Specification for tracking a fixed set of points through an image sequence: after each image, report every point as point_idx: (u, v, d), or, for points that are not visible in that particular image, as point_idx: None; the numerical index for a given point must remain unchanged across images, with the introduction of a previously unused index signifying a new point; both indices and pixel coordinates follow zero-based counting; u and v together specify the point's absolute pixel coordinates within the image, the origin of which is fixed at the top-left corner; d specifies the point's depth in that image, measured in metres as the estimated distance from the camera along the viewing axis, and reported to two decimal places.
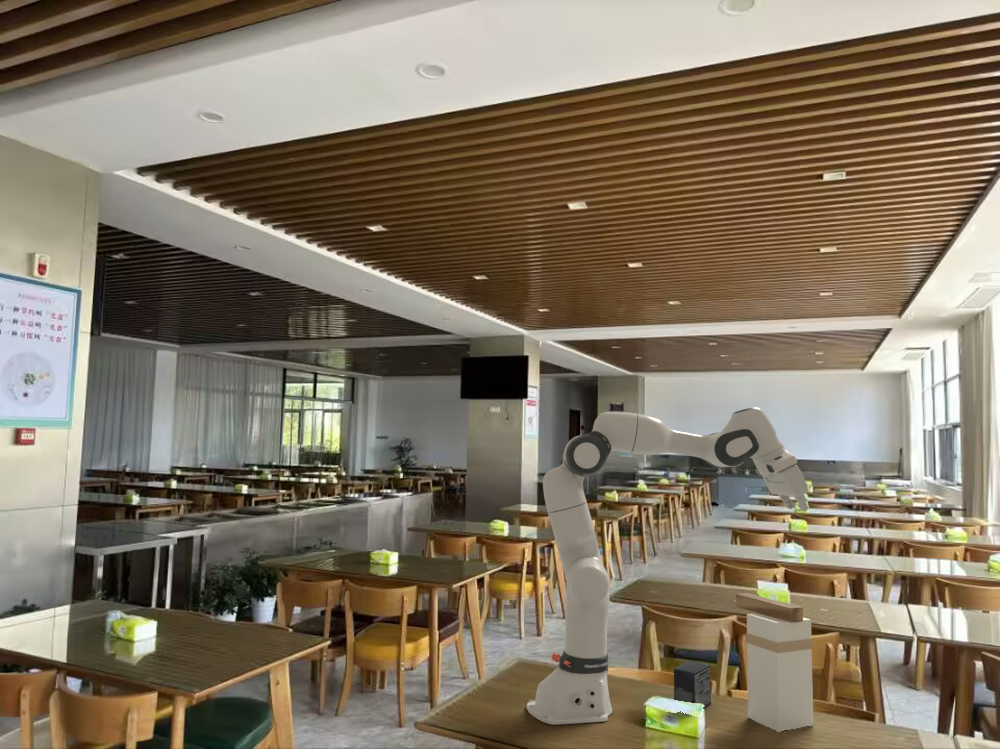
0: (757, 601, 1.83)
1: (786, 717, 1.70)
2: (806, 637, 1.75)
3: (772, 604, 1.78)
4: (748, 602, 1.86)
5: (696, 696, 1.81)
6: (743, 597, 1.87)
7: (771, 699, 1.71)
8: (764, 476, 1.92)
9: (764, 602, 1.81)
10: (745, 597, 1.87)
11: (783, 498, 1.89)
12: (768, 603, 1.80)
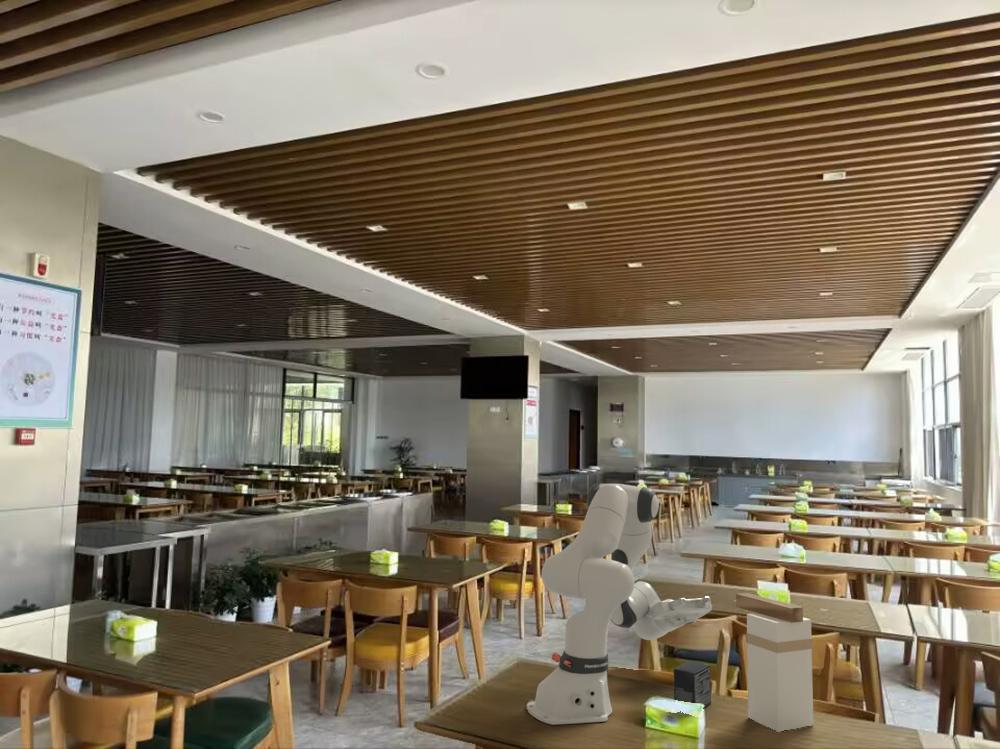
0: (757, 601, 1.83)
1: (786, 717, 1.70)
2: (806, 637, 1.75)
3: (772, 604, 1.78)
4: (748, 602, 1.86)
5: (696, 696, 1.81)
6: (743, 597, 1.87)
7: (771, 699, 1.71)
8: None
9: (764, 602, 1.81)
10: (745, 597, 1.87)
11: None
12: (768, 603, 1.80)
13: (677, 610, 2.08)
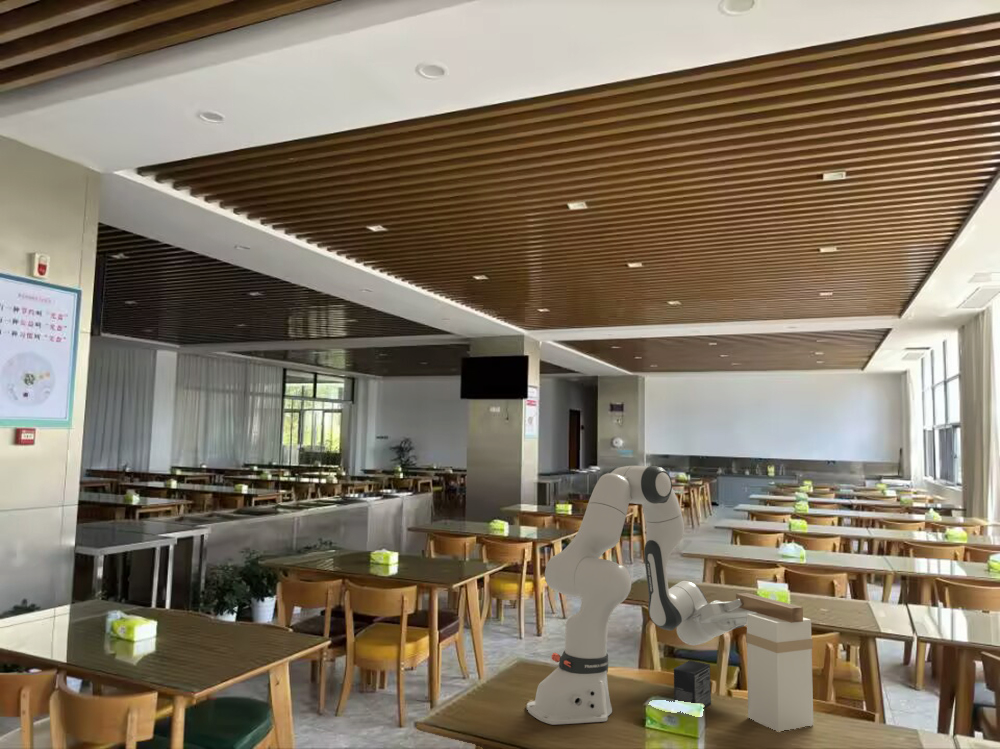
0: (757, 601, 1.83)
1: (786, 717, 1.70)
2: (806, 637, 1.75)
3: (772, 604, 1.78)
4: (748, 602, 1.86)
5: (696, 696, 1.81)
6: (743, 597, 1.87)
7: (771, 699, 1.71)
8: None
9: (764, 602, 1.81)
10: (745, 597, 1.87)
11: None
12: (768, 603, 1.80)
13: (728, 613, 1.89)
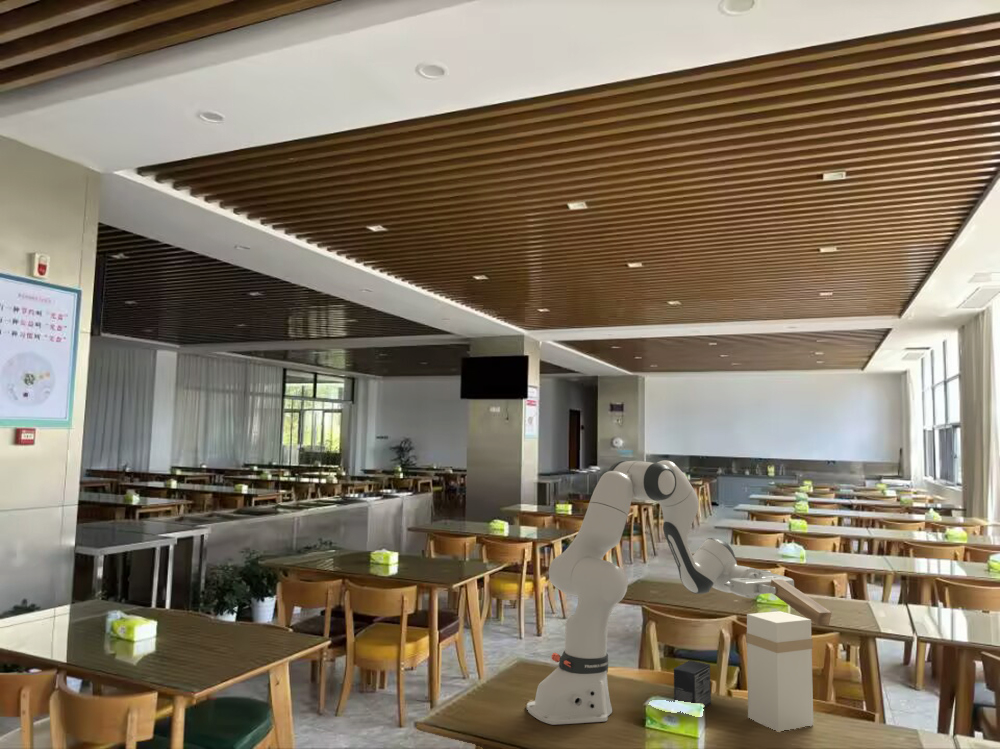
0: (789, 594, 1.89)
1: (786, 717, 1.70)
2: (806, 637, 1.75)
3: (802, 602, 1.85)
4: (781, 592, 1.93)
5: (696, 696, 1.81)
6: (777, 585, 1.94)
7: (771, 699, 1.71)
8: (737, 578, 2.01)
9: (795, 597, 1.87)
10: (779, 586, 1.94)
11: None
12: (799, 600, 1.86)
13: (759, 593, 1.97)
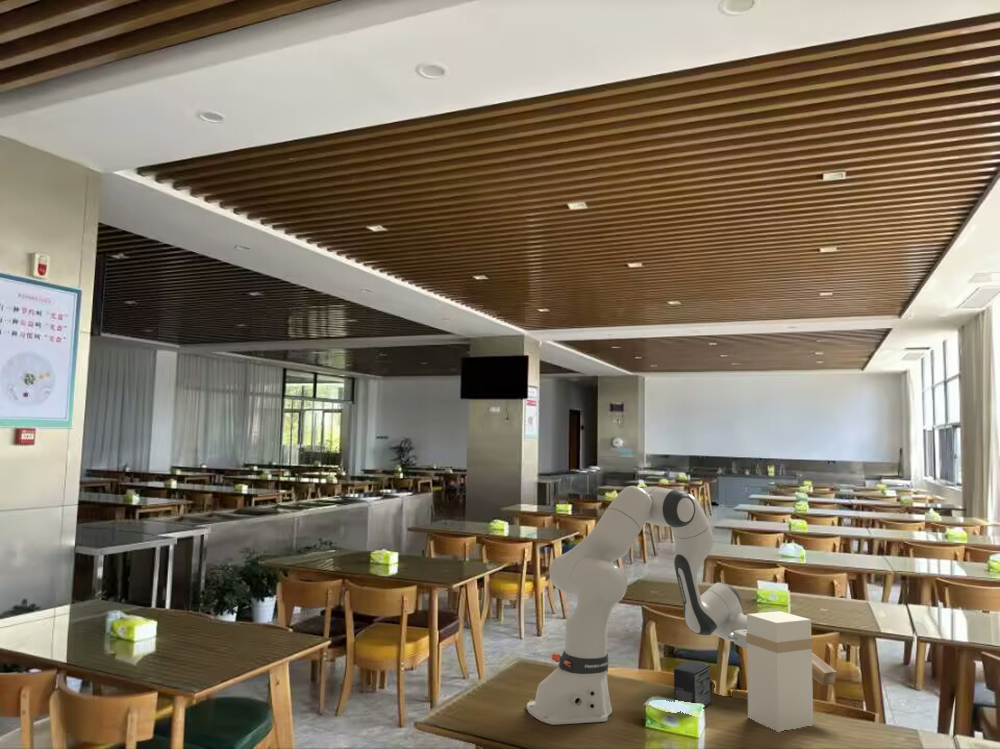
0: None
1: (786, 717, 1.70)
2: (806, 637, 1.75)
3: None
4: None
5: (696, 696, 1.81)
6: None
7: (771, 699, 1.71)
8: (741, 631, 1.99)
9: None
10: None
11: None
12: None
13: None
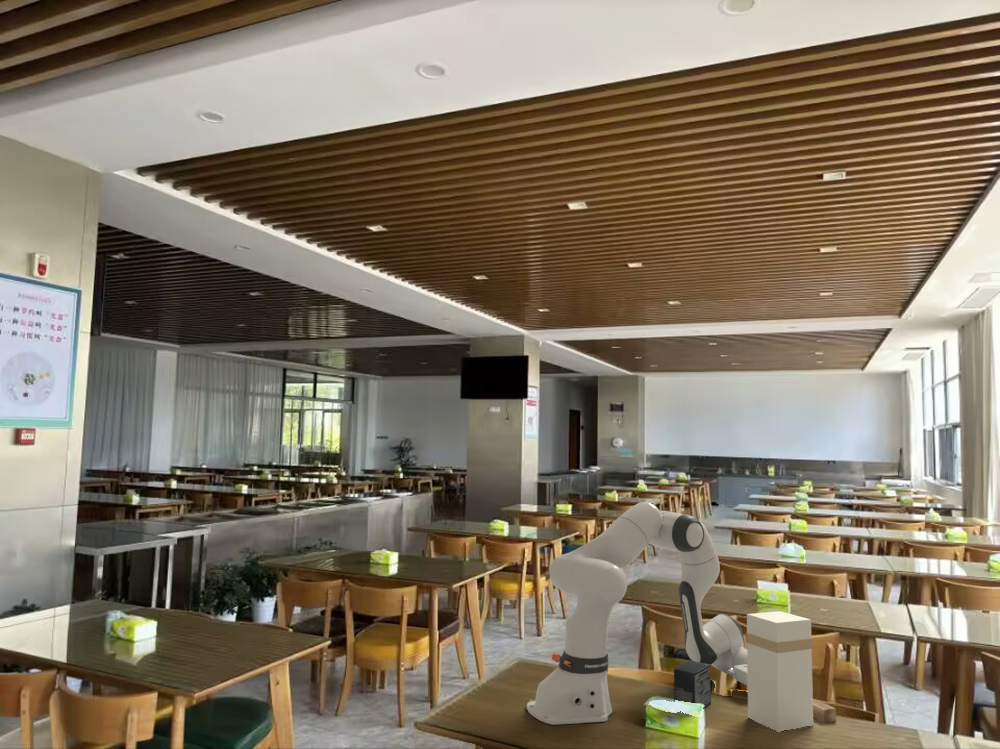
0: None
1: (786, 717, 1.70)
2: (806, 637, 1.75)
3: None
4: None
5: (696, 696, 1.81)
6: None
7: (771, 699, 1.71)
8: (741, 666, 1.98)
9: None
10: None
11: None
12: None
13: None
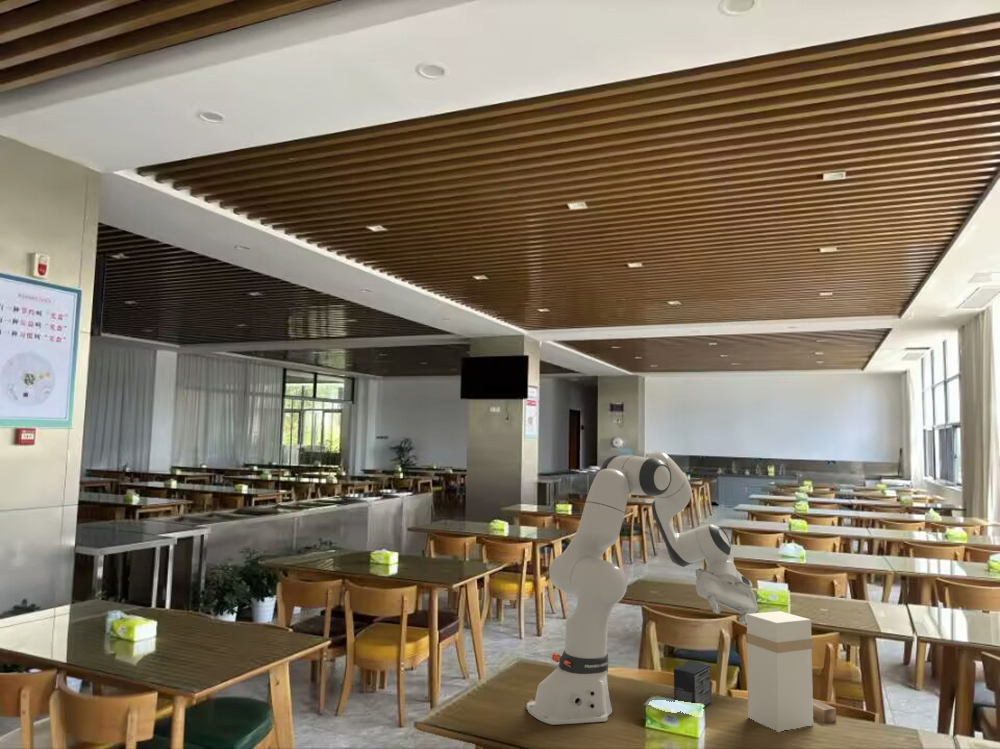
0: None
1: (786, 717, 1.70)
2: (806, 637, 1.75)
3: None
4: None
5: (696, 696, 1.81)
6: None
7: (771, 699, 1.71)
8: (708, 576, 2.07)
9: None
10: None
11: None
12: None
13: None
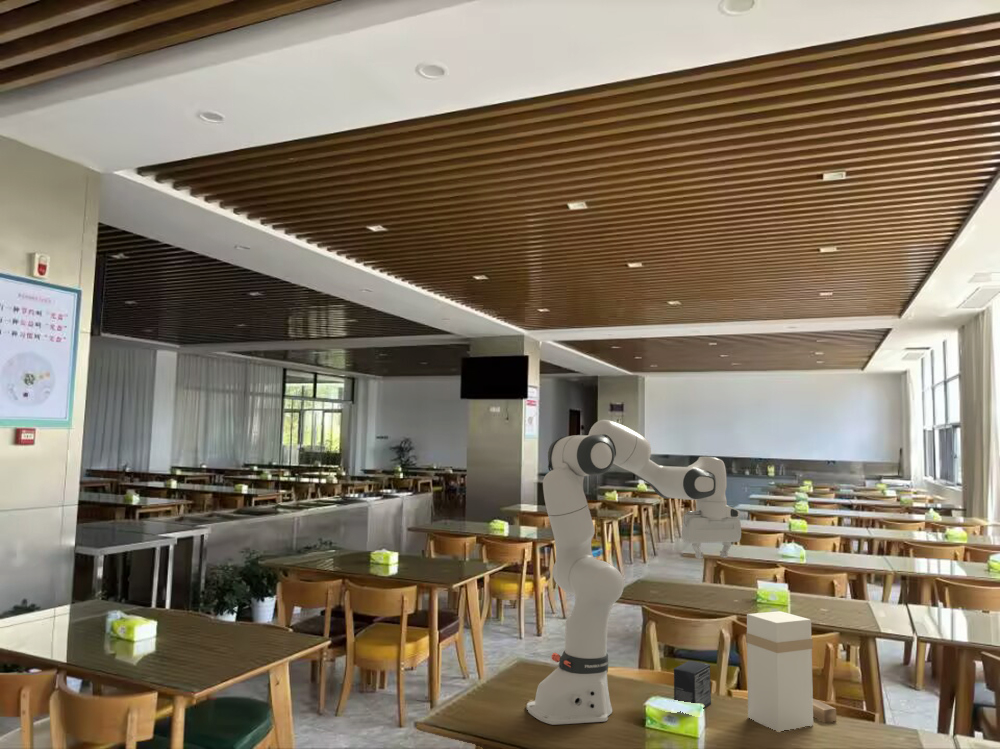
0: None
1: (786, 717, 1.70)
2: (806, 637, 1.75)
3: None
4: None
5: (696, 696, 1.81)
6: None
7: (771, 699, 1.71)
8: (696, 523, 2.02)
9: None
10: None
11: None
12: None
13: None
